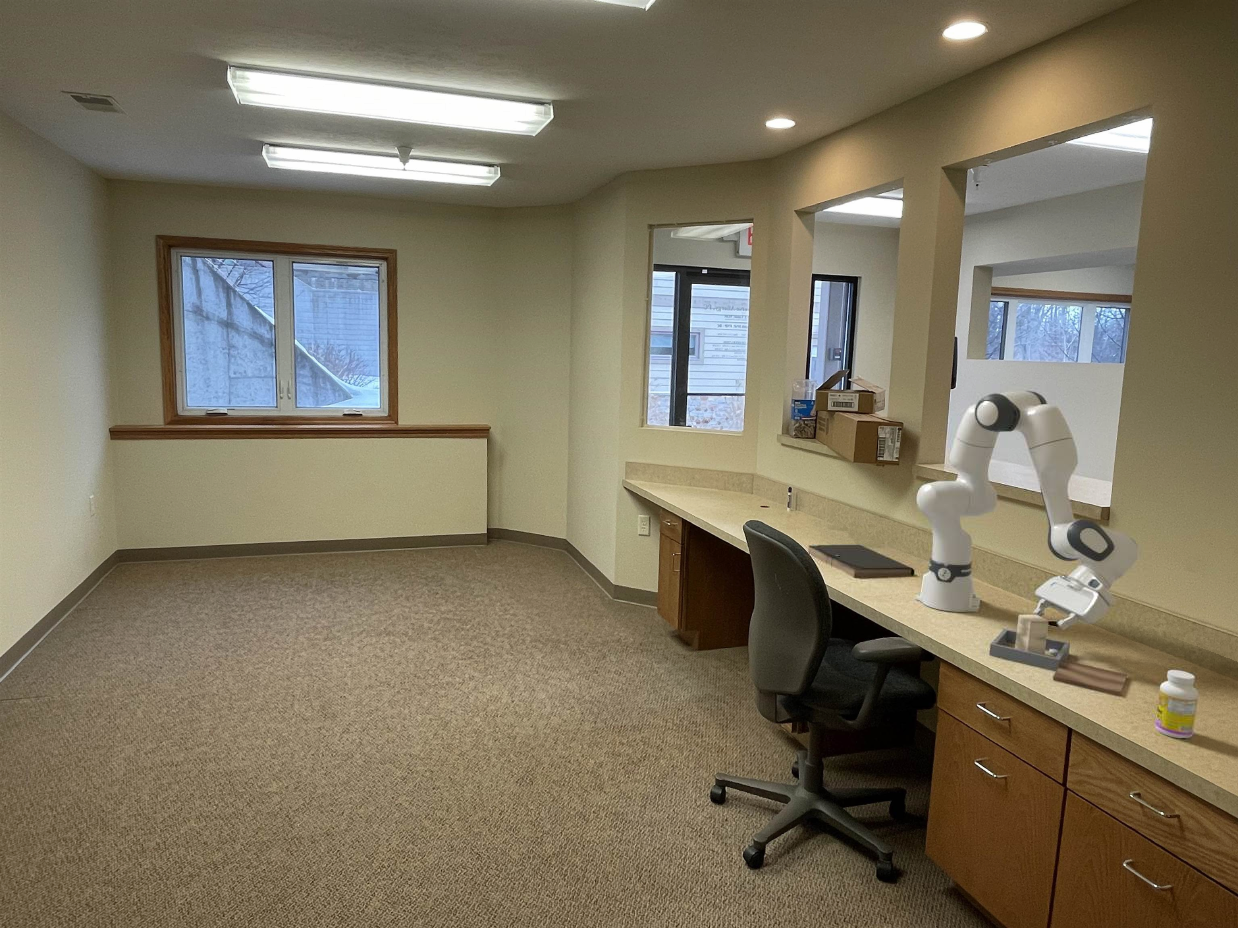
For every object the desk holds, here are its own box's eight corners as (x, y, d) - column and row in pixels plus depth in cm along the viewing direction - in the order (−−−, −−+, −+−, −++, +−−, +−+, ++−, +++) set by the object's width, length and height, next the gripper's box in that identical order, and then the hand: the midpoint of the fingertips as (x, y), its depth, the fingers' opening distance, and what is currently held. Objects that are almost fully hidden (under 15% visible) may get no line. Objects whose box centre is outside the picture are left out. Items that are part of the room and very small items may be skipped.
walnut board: (1062, 663, 209) (1063, 659, 209) (1126, 678, 201) (1127, 674, 201) (1052, 679, 198) (1053, 675, 198) (1120, 696, 190) (1120, 692, 190)
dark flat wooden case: (807, 544, 313) (863, 543, 319) (806, 555, 314) (862, 554, 320) (853, 567, 281) (915, 566, 288) (852, 579, 282) (913, 577, 288)
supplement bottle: (1156, 722, 177) (1164, 665, 175) (1193, 732, 173) (1202, 673, 171) (1152, 732, 172) (1160, 673, 170) (1190, 743, 168) (1199, 683, 166)
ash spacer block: (1014, 651, 217) (1018, 614, 215) (1031, 650, 218) (1036, 614, 216) (1026, 658, 212) (1030, 621, 210) (1044, 658, 213) (1048, 620, 211)
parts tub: (1003, 639, 226) (1004, 628, 225) (1068, 653, 216) (1070, 642, 216) (989, 654, 213) (990, 643, 213) (1057, 671, 204) (1059, 659, 203)
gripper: (1053, 565, 224) (1016, 600, 223) (1107, 587, 204) (1067, 625, 203) (1066, 581, 225) (1029, 616, 225) (1121, 604, 205) (1081, 642, 205)
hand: (1047, 621), depth 214 cm, fingers open, 8 cm apart
